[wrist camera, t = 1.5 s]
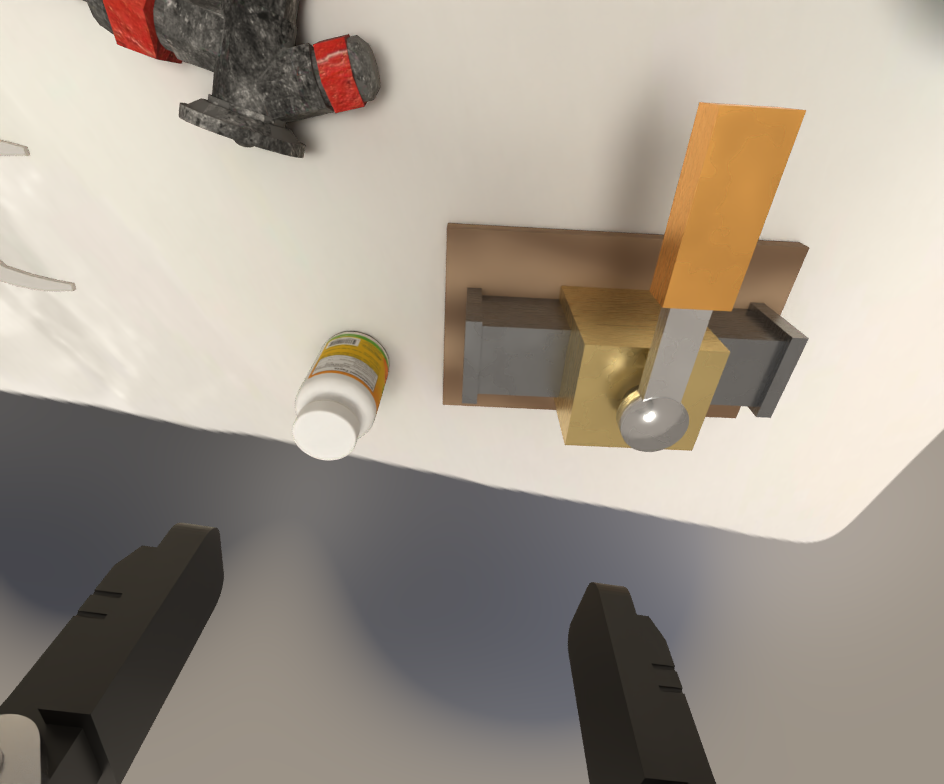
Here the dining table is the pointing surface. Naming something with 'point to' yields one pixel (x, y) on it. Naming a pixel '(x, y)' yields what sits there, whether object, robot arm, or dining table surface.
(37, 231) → the dining table surface
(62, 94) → the dining table surface
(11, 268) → the pliers
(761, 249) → the walnut board
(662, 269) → the valve lever
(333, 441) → the supplement bottle
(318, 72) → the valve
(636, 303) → the valve and pipe
